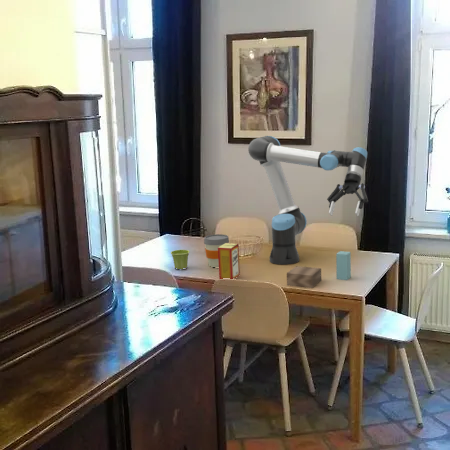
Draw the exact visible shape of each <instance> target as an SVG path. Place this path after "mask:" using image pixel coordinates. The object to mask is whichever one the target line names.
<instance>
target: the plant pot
mask: <svg viewBox="0 0 450 450" xmlns="http://www.w3.org/2000/svg"><path fill="white" fill-rule="evenodd" d="M170 254H171V257H172V261H173V264H174V265H173V266H174V269H175V268H177V269H182V270H184V269H183V268H186V267H187V268H188V261H189V260H188V259H189V255H190V250H188V249H175V250H172V251H171V252H170Z"/></svg>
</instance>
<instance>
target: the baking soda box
mask: <svg viewBox="0 0 450 450" xmlns="http://www.w3.org/2000/svg"><path fill="white" fill-rule="evenodd" d="M218 261H219V268H218V274H219V275H218V279H223V278H230V279H233V278H236V277H237V278H238V277H240V276H241V274H240V273H241V270H240V268H241V267H240V247H239V243H234V242H229V243H225V244H223V245H222V246H220V247H218ZM239 275H240V276H239ZM237 278H236V279H237Z"/></svg>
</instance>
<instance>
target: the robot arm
mask: <svg viewBox="0 0 450 450" xmlns="http://www.w3.org/2000/svg"><path fill="white" fill-rule="evenodd" d="M248 153H249V154H248V155H249V156H250V158H251V159H253V160H255V161H258V162H259V163H260V165H259V166H261V167H264V170H265V173H266V175H267V179H268V181H269V185H270V187H271V190H272V192H273V196H274V198H275V201H276V204H277V208H278V210H279V211H278V213H277V215H274V216H273V217H272V218H271V234H272V235H271V236H272V247H271V250H270V254H269V262H270V263H271V264H275V265H293V264H296V263H298V262H300V255H299V252H298V250H297V245H296V236H297V235H299V234H301V233H302V232H303V231H304V230H305V228H306V227H307V225H308V222H307V221H308V220H307V217H306V215H305V214H304V213H303V212H302V211H301V210H300V207H299V206H298V205H296V204H295V201H294V198H293V195H292V192H291V190H290V187H289V184H288V181H287V179H286V175H285V173H284V169H283V167H282V164H281V162H282V163H288V164H294V165H300V166H305V167H306V166H307V167H312V168H318V169H323V170H324V171H333V170H335V169H337V168H339V167H341V168H342V167H346V168H347V169H346V174H345V178H344V181H343V182H344V183H343V184H340V183H339V184H337V185H336V187H335V188H334V190H333V191H332V192H331V193H330V195H329V196H328V197H327V199H326V200H327V201H328V203H329V204H328V208H329V210H328V214H329V215H330V216H333V214H334V211H335V208H336V203H337V201H339V199H341V198H342V197H343V196H345V195H350V194H351V195H353V194H355V195H356V197H357V198H358V199H359V200H358V201H357V204H356V208H355V215H356V216H357V217H359V216H360V213H361V210H362V209H363V207H364V204H365V203H369V200H368V196H367V192H366V186H365V184H364V183H361V180H362V177H363V173H364V170H365V167H366V163H367V158H368V151H367V150H366V149H365V148H363V147H361V146H358V147H354V148H353V149H352V150H351V151H341V150H340V151H339V150H328V151H327V152H320V151H313V150H307V149H302V148H294V147H289V146H288V147H287V146H282V145H281V143H280V141H279V140H278V139H277V137H275V136H271V135H265V136H260V137H257V138H254V139H252V140H251V141H250V142H249V144H248ZM359 189H360V190H361V194H362V196H363V197H362V196H361V195H360V194H359V192H358V190H359Z"/></svg>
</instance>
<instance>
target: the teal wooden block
mask: <svg viewBox="0 0 450 450" xmlns="http://www.w3.org/2000/svg"><path fill="white" fill-rule="evenodd" d="M351 256H352V255H351V251H343V250H342V251H341V250H339V251H338V252H337V253H336V259H335V260H336V266H335V267H336V268H335V269H336V280H343V281H348V280H349V279H350V278H351V276H352V274H351V273H352V272H351V271H352V269H351V267H352V266H351V265H352V262H351V261H352V259H351V258H352V257H351Z"/></svg>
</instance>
